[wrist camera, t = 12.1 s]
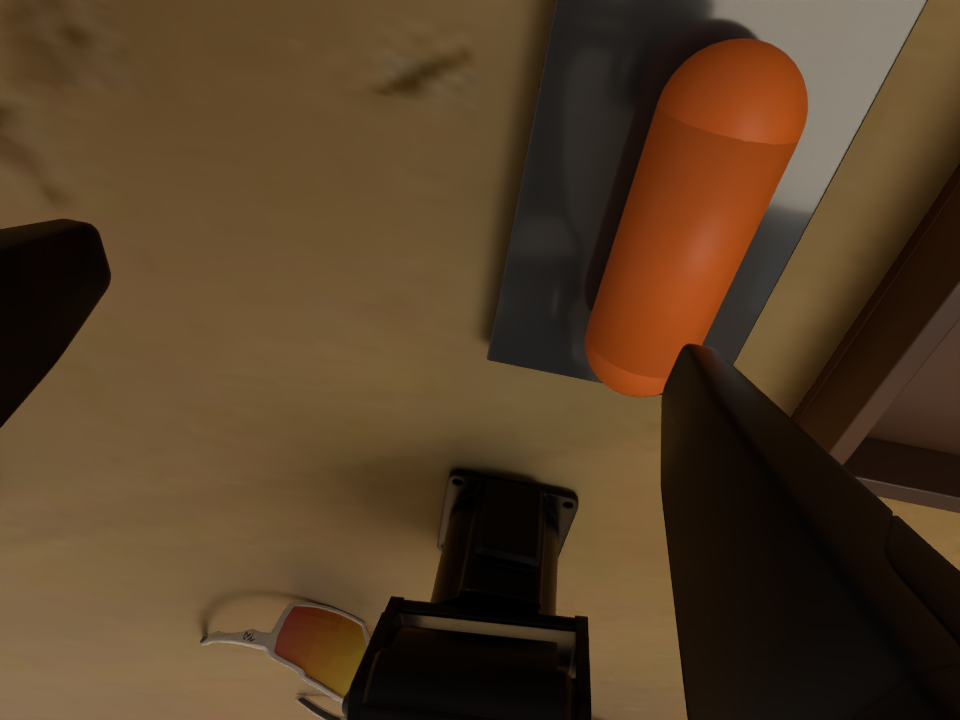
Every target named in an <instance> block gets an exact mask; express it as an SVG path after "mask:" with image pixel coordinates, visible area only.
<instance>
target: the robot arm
mask: <svg viewBox="0 0 960 720" xmlns="http://www.w3.org/2000/svg"><path fill="white" fill-rule="evenodd" d="M110 280H111V272H110V268H109V264H108V261H107V258H106V254H105V251H104V247H103V244H102V240H101V237H100V234H99V232H98V230H97V229H96V228H95V227H94V226H93V225H91V224H89V223H85V222H80V221H75V220H70V219H57V220H51V221H46V222H40V223H34V224H28V225H22V226H16V227H11V228H5V229H0V428H1V427H2V426H3V425H4V424H5V422H6V421H7V420H8V419H9V418H10V417H11V415H12V414H13V413H14V412H15V411H16V410H17V408H18V407H19V406H20V405H21V404H22V403H23V401H24V400H25V399H26V398H27V397H28V396H29V394H30V393H31V392H32V391H33V390H34V389H35V387H36V386H37V385H38V384H39V383H40V382H41V380H42V379H43V378H44V377H45V376H46V375H47V373H48V372H49V371H50V370H51V369H52V367H53V366H54V365H55V364H56V362H57V361H58V360H59V358H60V357H61V356H62V354H63V353H64V352H65V350H66V349H67V347H68V346H69V344H70V343H71V341H72V340H73V338H74V337H75V336H76V334H77V333H78V331H79V330H80V328H81V327H82V325H83V324H84V322H85V321H86V319H87V318H88V317H89V315H90V314H91V312H92V311H93V309H94V308H95V306H96V305H97V303H98V302H99V300H100V299H101V297H102V296H103V295H104V293H105V292H106V290H107V289H108V287H109V284H110ZM458 479H460V480H458ZM661 492H662V503H663V511H664V520H665V529H666V537H667V546H668V555H669V563H670V572H671V580H672V589H673V598H674V606H675V615H676V623H677V632H678V641H679V649H680V658H681V667H682V675H683V684H684V692H685V701H686V710H687V718H688V720H960V571H959V570H958V569H957V568H955V567H954V566H953V565H952V564H951V563H950V562H949V561H947V560H946V559H945V558H944V557H943V556H942V555H941V554H940V553H938V552H937V551H936V550H935V549H934V548H933V547H932V546H931V545H929V544H928V543H927V542H926V541H925V540H924V539H923V538H921V537H920V536H919V535H918V534H917V533H916V532H915V531H914V530H913V529H912V528H911V527H910V526H908V525H907V524H906V523H905V522H904V521H903V520H902V519H901V518H900V517H899V516H892V515H893V512H892V510H891V509H890V508H889V507H888V506H886V505H885V504H884V503H883V502H882V501H881V500H880V499H879V498H878V497H877V496H875V495H874V494H873V493H872V492H871V491H870V490H869V489H868V488H867V487H866V486H865V485H863V484H862V483H861V482H860V481H859V480H858V479H857V478H856V477H855V476H854V475H852V474H851V473H850V472H849V471H848V470H847V469H846V468H845V467H844V466H843V465H841V464H840V463H839V462H838V461H837V460H836V459H835V458H834V457H833V456H832V455H831V454H829V453H828V452H827V451H826V450H825V449H824V448H823V447H822V446H821V445H820V444H818V443H817V442H816V441H815V440H814V439H813V438H812V437H811V436H810V435H809V434H808V433H806V432H805V431H804V430H803V429H802V428H801V427H800V426H799V425H798V424H797V423H795V422H794V421H793V420H792V419H791V418H790V417H789V416H788V415H787V414H786V413H784V412H783V411H782V410H781V409H780V408H779V407H778V406H777V405H776V404H775V403H774V402H772V401H771V400H770V399H769V398H768V397H767V396H766V395H765V394H764V393H763V392H761V391H760V390H759V389H758V388H757V387H756V386H755V385H754V384H753V383H752V382H751V381H749V380H748V379H747V378H746V377H745V376H744V375H743V374H742V373H741V372H740V371H738V370H737V369H736V368H735V367H734V366H733V365H732V364H731V363H730V362H729V361H727V360H726V359H725V358H724V357H723V356H722V355H721V354H720V353H719V352H718V351H717V350H715V349H714V348H711V347H707V346H702V345H697V344H691V343H688V344H686V345H684V346H683V347H682V349H681V350H680V352H679V354H678V357H677V359H676V361H675V363H674V365H673V368H672V370H671V372H670V374H669V377H668V379H667V381H666V383H665V386H664V389H663V393H662V413H661ZM577 509H578V497H577V495H575V494H574V493H571V492H566V491H562V490H557V489H552V488H547V487H542V486H537V485H533V484H528V483H523V482H518V481H513V480H508V479H504V478H499V477H494V476H489V475H484V474H479V473H475V472H470V471H465V470H460V469H456V470H452V471H451V472H450V474H449V478H448V483H447V489H446V495H445V501H444V507H443V513H442V519H441V525H440V531H439V537H438V542H437V547H438V549H439V550H441V551H442V553H441V557H440V562H439V566H438V571H437V575H436V580H435V584H434V589H433V593H432V598H431V602H422V601H412V600H404V597H395V596H391V598H390V601H389V603H388V605H387V607H386V610H385V612H383V613H382V614H381V617H380V619H379V621H378V624H377V626H376V628H375V630H374V633H373V635H372V637H371V640H370V642H369V644H368V646H367V649H366V651H365V653H364V656H363V658H362V660H361V662H360V665H359V667H358V669H357V672H356V674H355V676H354V678H353V681H352V683H351V686H350V689H349V690H348V692H347V693H346V695H345V697H344V699H343V703H342V712H343V714H344V715H345V717H346V719H347V720H591V688H590V662H589V636H588V617H586V616H576V615H575V618H574V617H564V616H556V592H557V566H558V557H559V554H560V552H561V549H562V547H563V544H564V542H565V539H566V537H567V534H568V532H569V529H570V527H571V524H572V522H573V519H574V517H575V514H576V512H577Z"/></svg>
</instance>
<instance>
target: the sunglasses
mask: <svg viewBox="0 0 960 720" xmlns="http://www.w3.org/2000/svg"><path fill="white" fill-rule="evenodd" d="M213 642H225V643H232V644H238V645H243V646H247V647H251V648H256V649H260V650H264V651H265V652H266V654H267V656H268V657H269V658H271V659H273V660H275V661H277V662H279V663H281V664H283V665H285V666H286V667H288V668H290V669H292V670H294V671H295V672H297V675H298V677H299V678H300V679H302V680H303V681H305V682H307V683H308V684H310V685H312V686H313V687H315V688H317V689H318V690H320V691H322V692H324V693H325V694H327V695H329V696H330V697H332V698H333V699H335V700H337V701H338V702H340V703H343V699H344V697H345V695H346V693H347V692H348V690H349V689H350V686H351V683H352V681H353V678H354V676H355V674H356V672H357V669H358V667H359V665H360V662H361V660H362V658H363V656H364V653H365V651H366V649H367V646H368V644H369V642H370V640H369V637H368V633H367V629H366V625H365V624H364V622H362V621H361V620H359V619H357V618H356V617H354V616H352V615H350V614H347V613H345V612H343V611H340V610H338V609H335V608H332V607H329V606H324V605H320V604H315V603H310V602H293V603H290V604H289V605H288V606H287V608H286V609H285V610H284V611H283V613H282V614H281V616H280V618H279V619H278V621H277V623H276V624H275V626H274V628H273V630H272V632H271V633H265V632H259V631H256V630H254V629H250V630H247V631H244V632H238V633H223V632H220V631H217V632H215V633H212V634H210V635H205V636H203V638H202V639H201V641H200V645H207V644H210V643H213ZM305 674H306V675H305ZM312 678H313V679H312ZM319 683H320V684H319ZM326 687H327V688H326ZM295 700H296V701H297V702H298V703H299V704H301V705H302V706H303V707H304V708H306V709H307V710H309V711H310V712H311V713H313V714H314V715H316V716H318V717H319V718H321V719H323V720H347V719H346V717H344V716H340V715H336V714H334V713H332V712H330V711H328V710H326V709H324V708H322V707H320V706H319V705H317V704H316V703H314V702H313V701H311V700H310V699H308V698H307V697H305V696H303V695H299V696H297V697H296V698H295Z"/></svg>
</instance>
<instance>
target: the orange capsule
mask: <svg viewBox="0 0 960 720" xmlns="http://www.w3.org/2000/svg"><path fill="white" fill-rule="evenodd" d="M807 113H808V94H807V89H806V85H805V82H804V78H803V75H802V74H801V72H800V70H799V68H798V67H797V65H796V63H795V62H794V61H793V60H792V59H791V58H790V57H789V56H788V55H787V54H786V53H785V52H784V51H782V50H780V49H779V48H777V47H775V46H774V45H772V44H770V43H767V42H764V41H760V40H755V39H749V38H740V39H729V40H725V41H722V42H718V43H715V44H712V45H710V46H708V47H706V48H704V49H702V50H700V51H698V52H696V53H695V54H694V55H693V56H691V57H690V58H689V59H687V60H686V61H685V62H684V63H683V64H682V65H681V66H680V67H679V68H678V69H677V70H676V71H675V73H674V74H673V75H672V76H671V78H670V79H669V81H668V82H667V84H666V86H665V87H664V89H663V91H662V93H661V96H660V98H659V101H658V103H657V106H656V109H655V113H654V116H653V119H652V122H651V125H650V128H649V132H648V135H647V138H646V141H645V144H644V148H643V151H642V154H641V157H640V160H639V163H638V167H637V170H636V173H635V176H634V179H633V182H632V186H631V189H630V192H629V195H628V198H627V202H626V205H625V208H624V211H623V214H622V217H621V221H620V224H619V227H618V230H617V233H616V237H615V240H614V243H613V246H612V249H611V252H610V256H609V259H608V262H607V265H606V268H605V272H604V275H603V278H602V281H601V284H600V287H599V291H598V294H597V297H596V300H595V303H594V307H593V310H592V313H591V316H590V319H589V322H588V326H587V330H586V335H585V352H586V356H587V360H588V363H589V365H590V367H591V369H592V370H593V372H594V373H595V375H596V376H597V377H598V379H599V380H600V381H601V382H602V383H604V384H605V385H606V386H608V387H609V388H611V389H612V390H614V391H616V392H618V393H621V394H624V395H628V396H635V397H648V396H653V395H657V394H661V393H663V389H664V386H665V383H666V381H667V379H668V377H669V374H670V372H671V370H672V368H673V365H674V363H675V361H676V359H677V357H678V354H679V352H680V350H681V349H682V347H683V346H684V345H686V344H688V343H691V344H697V345H702V344H703V342H704V340H705V338H706V335H707V333H708V331H709V329H710V327H711V325H712V323H713V321H714V319H715V317H716V314H717V312H718V310H719V308H720V306H721V304H722V302H723V300H724V298H725V296H726V293H727V291H728V289H729V287H730V285H731V283H732V281H733V279H734V277H735V275H736V272H737V270H738V268H739V266H740V264H741V262H742V260H743V258H744V256H745V254H746V251H747V249H748V247H749V245H750V243H751V241H752V239H753V237H754V235H755V233H756V230H757V228H758V226H759V224H760V222H761V220H762V218H763V216H764V214H765V212H766V210H767V207H768V205H769V203H770V201H771V199H772V197H773V195H774V193H775V191H776V189H777V186H778V184H779V182H780V180H781V178H782V176H783V174H784V172H785V170H786V168H787V165H788V163H789V161H790V159H791V157H792V155H793V153H794V151H795V149H796V147H797V144H798V142H799V140H800V138H801V135H802V133H803V130H804V127H805V124H806V119H807Z"/></svg>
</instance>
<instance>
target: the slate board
mask: <svg viewBox="0 0 960 720" xmlns="http://www.w3.org/2000/svg"><path fill="white" fill-rule="evenodd" d="M927 1H928V0H556V2H555V7H554V12H553V17H552V23H551V28H550V33H549V38H548V43H547V49H546V54H545V59H544V64H543V69H542V74H541V80H540V85H539V90H538V95H537V100H536V106H535V111H534V116H533V121H532V126H531V132H530V137H529V142H528V147H527V152H526V157H525V163H524V168H523V173H522V178H521V183H520V189H519V194H518V199H517V204H516V209H515V215H514V220H513V225H512V230H511V235H510V241H509V246H508V251H507V256H506V261H505V266H504V272H503V277H502V282H501V287H500V292H499V298H498V303H497V308H496V313H495V318H494V324H493V329H492V334H491V339H490V344H489V350H488V355H487V360H490V361H495V362H500V363H505V364H510V365H515V366H520V367H525V368H530V369H535V370H540V371H545V372H550V373H555V374H560V375H565V376H569V377H574V378H579V379H584V380H589V381H594V382H599V383H602V382H601V381H600V380H599V379H598V377H597V376H596V375H595V373H594V372H593V370H592V369H591V367H590V365H589V363H588V360H587V356H586V352H585V335H586V330H587V326H588V322H589V319H590V316H591V313H592V310H593V307H594V303H595V300H596V297H597V294H598V291H599V287H600V284H601V281H602V278H603V275H604V272H605V268H606V265H607V262H608V259H609V256H610V252H611V249H612V246H613V243H614V240H615V237H616V233H617V230H618V227H619V224H620V221H621V217H622V214H623V211H624V208H625V205H626V202H627V198H628V195H629V192H630V189H631V186H632V182H633V179H634V176H635V173H636V170H637V167H638V163H639V160H640V157H641V154H642V151H643V148H644V144H645V141H646V138H647V135H648V132H649V128H650V125H651V122H652V119H653V116H654V113H655V109H656V106H657V103H658V101H659V98H660V96H661V93H662V91H663V89H664V87H665V86H666V84H667V82H668V81H669V79H670V78H671V76H672V75H673V74H674V73H675V71H676V70H677V69H678V68H679V67H680V66H681V65H682V64H683V63H684V62H685V61H686V60H687V59H689V58H690V57H691V56H693V55H694V54H695V53H696V52H698V51H700V50H702V49H704V48H706V47H708V46H710V45H712V44H715V43H718V42H722V41H725V40H729V39H740V38H749V39H755V40H760V41H764V42H767V43H770V44H772V45H774V46H775V47H777V48H779V49H780V50H782V51H784V52H785V53H786V54H787V55H788V56H789V57H790V58H791V59H792V60H793V61H794V62H795V63H796V65H797V67H798V68H799V70H800V72H801V74H802V75H803V78H804V82H805V85H806V89H807V94H808V113H807V119H806V124H805V127H804V130H803V133H802V135H801V138H800V140H799V142H798V144H797V147H796V149H795V151H794V153H793V155H792V157H791V159H790V161H789V163H788V165H787V168H786V170H785V172H784V174H783V176H782V178H781V180H780V182H779V184H778V186H777V189H776V191H775V193H774V195H773V197H772V199H771V201H770V203H769V205H768V207H767V210H766V212H765V214H764V216H763V218H762V220H761V222H760V224H759V226H758V228H757V230H756V233H755V235H754V237H753V239H752V241H751V243H750V245H749V247H748V249H747V251H746V254H745V256H744V258H743V260H742V262H741V264H740V266H739V268H738V270H737V272H736V275H735V277H734V279H733V281H732V283H731V285H730V287H729V289H728V291H727V293H726V296H725V298H724V300H723V302H722V304H721V306H720V308H719V310H718V312H717V314H716V317H715V319H714V321H713V323H712V325H711V327H710V329H709V331H708V333H707V335H706V338H705V340H704V342H703V344H702V346H707V347H711V348H714V349H715V350H717V351H718V352H719V353H720V354H721V355H722V356H723V357H724V358H725V359H726V360H727V361H729V362H730V363H731V364H732V365H733V364H734V362H735V360H736V358H737V357H738V355H739V353H740V351H741V349H742V347H743V345H744V343H745V342H746V340H747V338H748V336H749V334H750V332H751V330H752V329H753V327H754V325H755V323H756V321H757V319H758V317H759V315H760V314H761V312H762V310H763V308H764V306H765V304H766V302H767V300H768V299H769V297H770V295H771V293H772V291H773V289H774V287H775V286H776V284H777V282H778V280H779V278H780V276H781V274H782V272H783V271H784V269H785V267H786V265H787V263H788V261H789V259H790V257H791V256H792V254H793V252H794V250H795V248H796V246H797V244H798V242H799V241H800V239H801V237H802V235H803V233H804V231H805V229H806V228H807V226H808V224H809V222H810V220H811V218H812V216H813V214H814V213H815V211H816V209H817V207H818V205H819V203H820V201H821V199H822V198H823V196H824V194H825V192H826V190H827V188H828V186H829V185H830V183H831V181H832V179H833V177H834V175H835V173H836V171H837V170H838V168H839V166H840V164H841V162H842V160H843V158H844V156H845V155H846V153H847V151H848V149H849V147H850V145H851V143H852V142H853V140H854V138H855V136H856V134H857V132H858V130H859V128H860V127H861V125H862V123H863V121H864V119H865V117H866V115H867V113H868V112H869V110H870V108H871V106H872V104H873V102H874V100H875V98H876V97H877V95H878V93H879V91H880V89H881V87H882V85H883V84H884V82H885V80H886V78H887V76H888V74H889V72H890V70H891V69H892V67H893V65H894V63H895V61H896V59H897V57H898V55H899V54H900V52H901V50H902V48H903V46H904V44H905V42H906V41H907V39H908V37H909V35H910V33H911V31H912V29H913V27H914V26H915V24H916V22H917V20H918V18H919V16H920V14H921V12H922V11H923V9H924V7H925V5H926V3H927ZM658 395H662V393H661V394H658Z"/></svg>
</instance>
